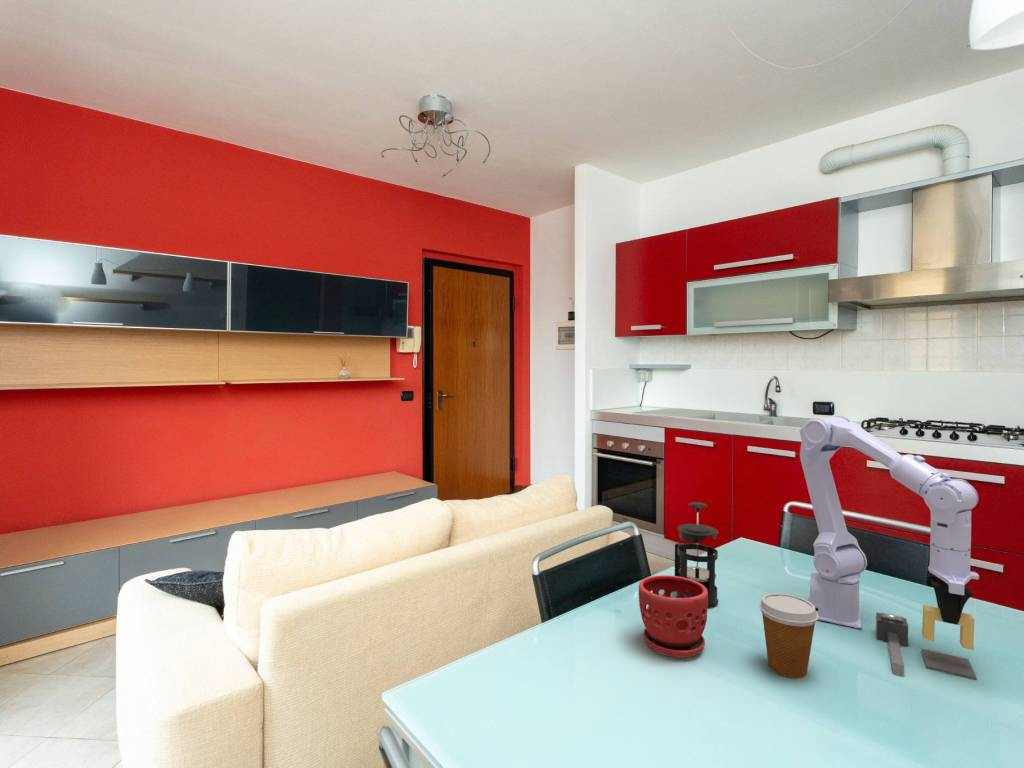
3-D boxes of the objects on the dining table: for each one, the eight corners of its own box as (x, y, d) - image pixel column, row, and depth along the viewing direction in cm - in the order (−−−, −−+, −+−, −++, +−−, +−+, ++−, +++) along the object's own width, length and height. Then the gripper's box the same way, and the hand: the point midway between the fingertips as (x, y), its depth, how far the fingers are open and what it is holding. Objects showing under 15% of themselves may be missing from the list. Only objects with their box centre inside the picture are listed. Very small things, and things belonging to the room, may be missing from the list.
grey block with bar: (881, 670, 95) (881, 644, 95) (875, 631, 109) (876, 608, 109) (916, 679, 92) (916, 652, 92) (905, 637, 107) (906, 614, 106)
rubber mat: (926, 668, 96) (926, 665, 96) (921, 650, 102) (921, 648, 102) (976, 679, 92) (976, 677, 92) (968, 661, 98) (968, 659, 98)
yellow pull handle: (923, 639, 98) (924, 609, 97) (922, 633, 100) (923, 604, 100) (973, 650, 94) (974, 619, 94) (970, 644, 96) (971, 614, 96)
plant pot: (718, 644, 104) (719, 584, 104) (689, 672, 94) (690, 606, 94) (657, 622, 113) (658, 567, 113) (625, 646, 103) (626, 585, 103)
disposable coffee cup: (795, 689, 89) (796, 619, 89) (747, 661, 98) (748, 598, 97) (829, 674, 94) (830, 608, 93) (780, 649, 102) (781, 588, 102)
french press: (729, 604, 122) (730, 506, 121) (700, 613, 117) (701, 511, 117) (690, 586, 132) (691, 495, 131) (662, 593, 128) (663, 499, 127)
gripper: (988, 562, 88) (986, 642, 88) (970, 539, 100) (968, 609, 101) (934, 554, 92) (933, 631, 92) (923, 533, 104) (922, 600, 104)
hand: (948, 619), depth 97 cm, fingers closed on yellow pull handle, 2 cm apart
